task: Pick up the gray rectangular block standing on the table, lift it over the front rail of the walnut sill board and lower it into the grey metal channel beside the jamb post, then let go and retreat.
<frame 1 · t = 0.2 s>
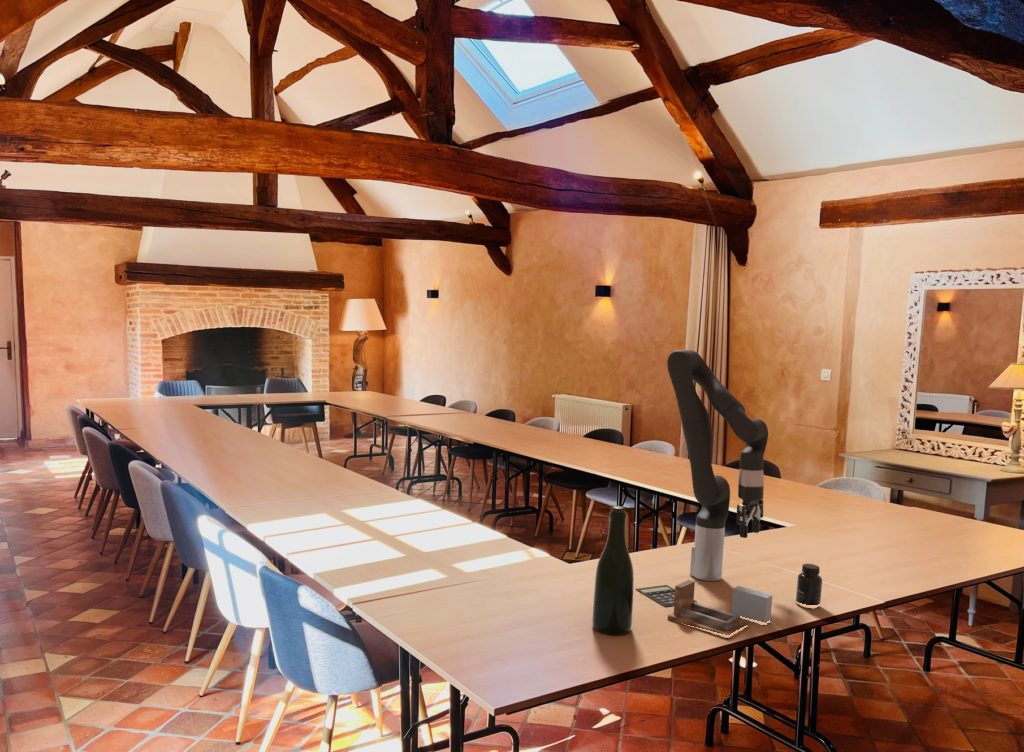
hand: (749, 534, 241), 17 cm above the table, tool pointing down, fingers open, 8 cm apart
supplement bottle: (807, 605, 230), on the table
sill: (707, 623, 213), on the table
gray rectangular block: (750, 619, 217), on the table
dark green wine bottle: (611, 629, 206), on the table
calculator: (665, 598, 233), on the table
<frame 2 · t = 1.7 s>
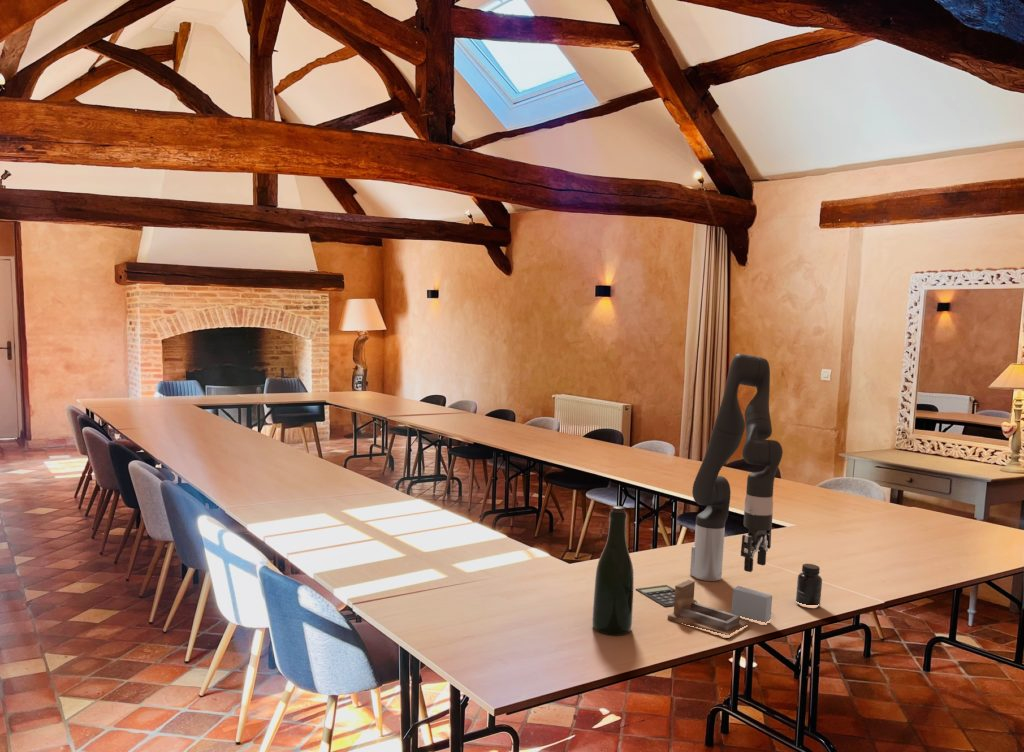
hand: (754, 567, 216), 15 cm above the table, tool pointing down, fingers open, 8 cm apart
nothing on the table moved.
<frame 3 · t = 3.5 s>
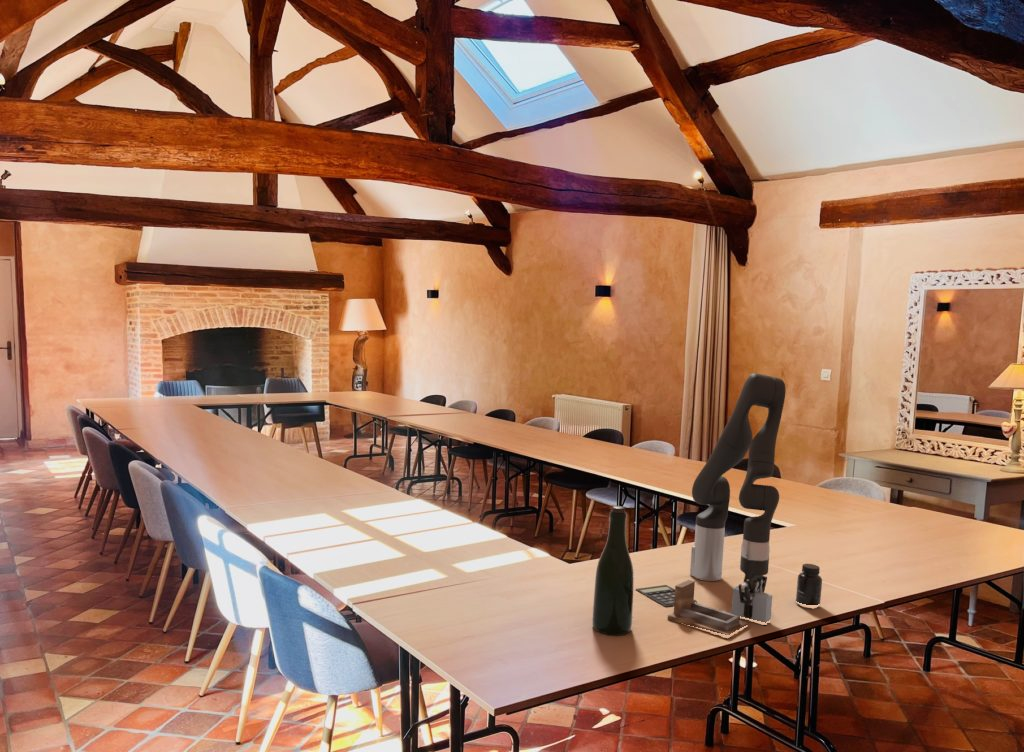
hand: (750, 615, 217), 1 cm above the table, tool pointing down, fingers closed on gray rectangular block, 3 cm apart
gray rectangular block: (750, 619, 217), on the table, touching gripper
everything else where it was.
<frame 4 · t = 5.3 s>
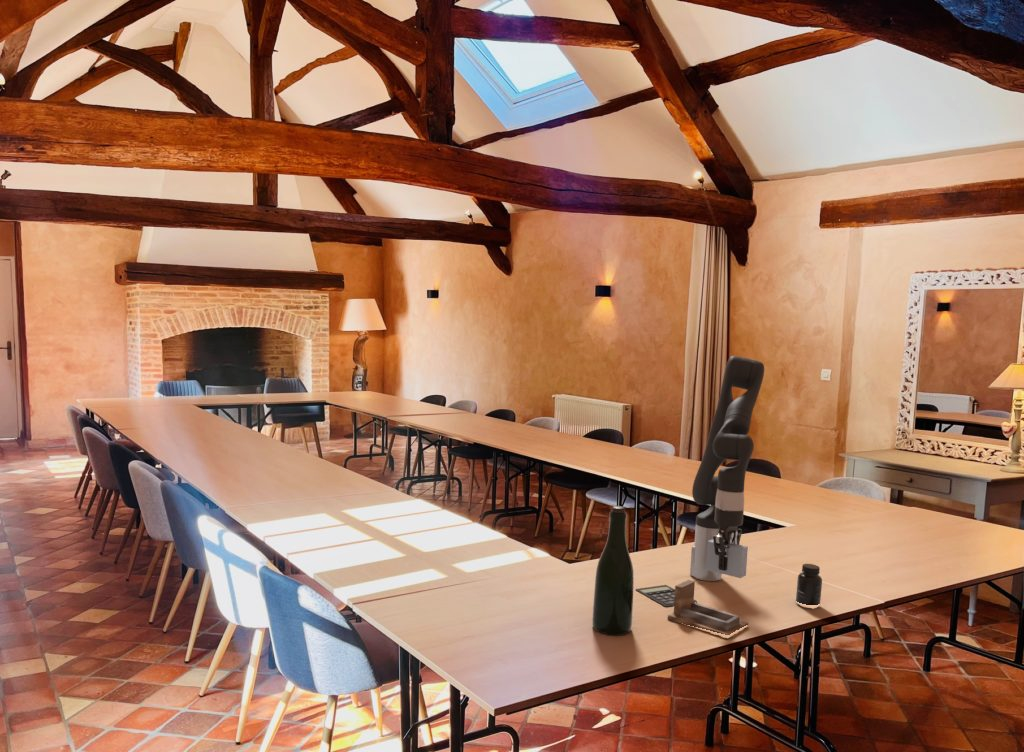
hand: (725, 567, 212), 16 cm above the table, tool pointing down, fingers closed on gray rectangular block, 3 cm apart
gray rectangular block: (725, 572, 212), point 14 cm above the table, touching gripper
everything else where it was.
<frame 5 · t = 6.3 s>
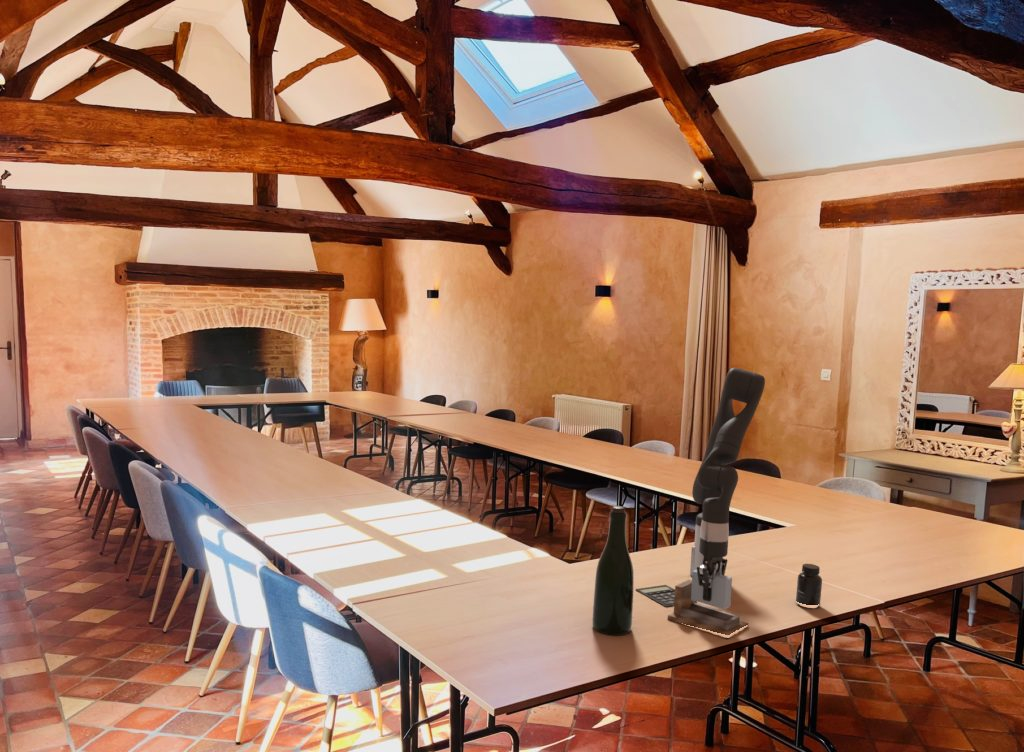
hand: (710, 598, 212), 7 cm above the table, tool pointing down, fingers closed on gray rectangular block, 3 cm apart
gray rectangular block: (710, 602, 212), point 6 cm above the table, touching gripper
everything else where it was.
when the fingers open (4 cm above the table, at t = 7.2 s): gray rectangular block drops 1 cm, resting on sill.
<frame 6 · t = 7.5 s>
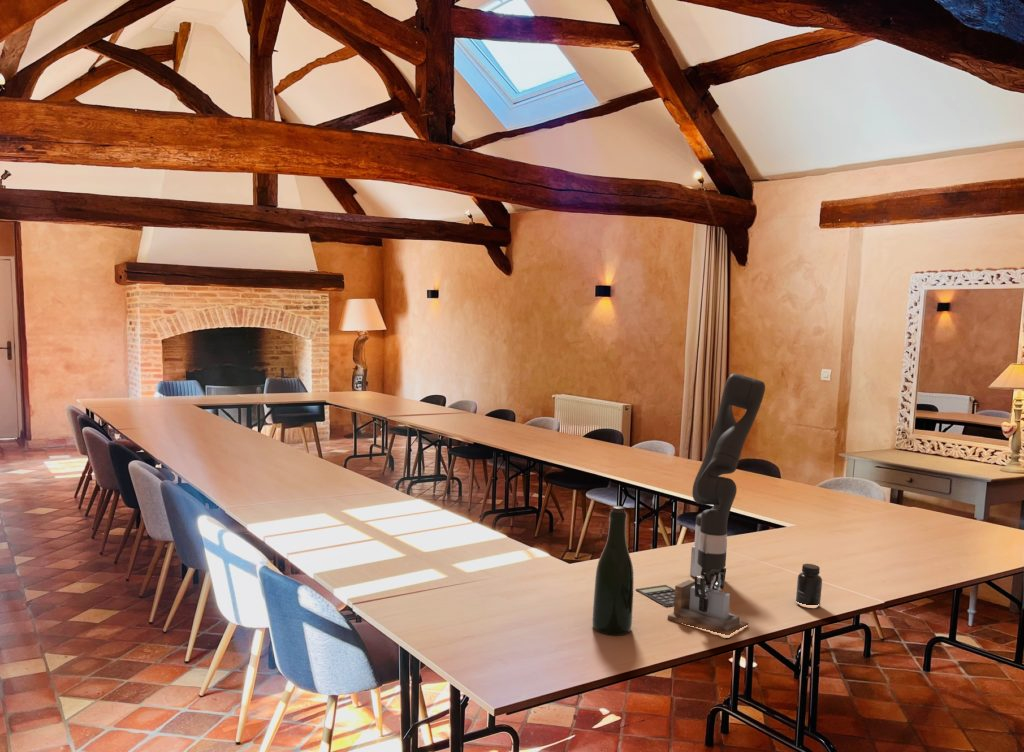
hand: (708, 608, 213), 4 cm above the table, tool pointing down, fingers open, 6 cm apart
gray rectangular block: (708, 618, 213), point 1 cm above the table, touching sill
everything else where it was.
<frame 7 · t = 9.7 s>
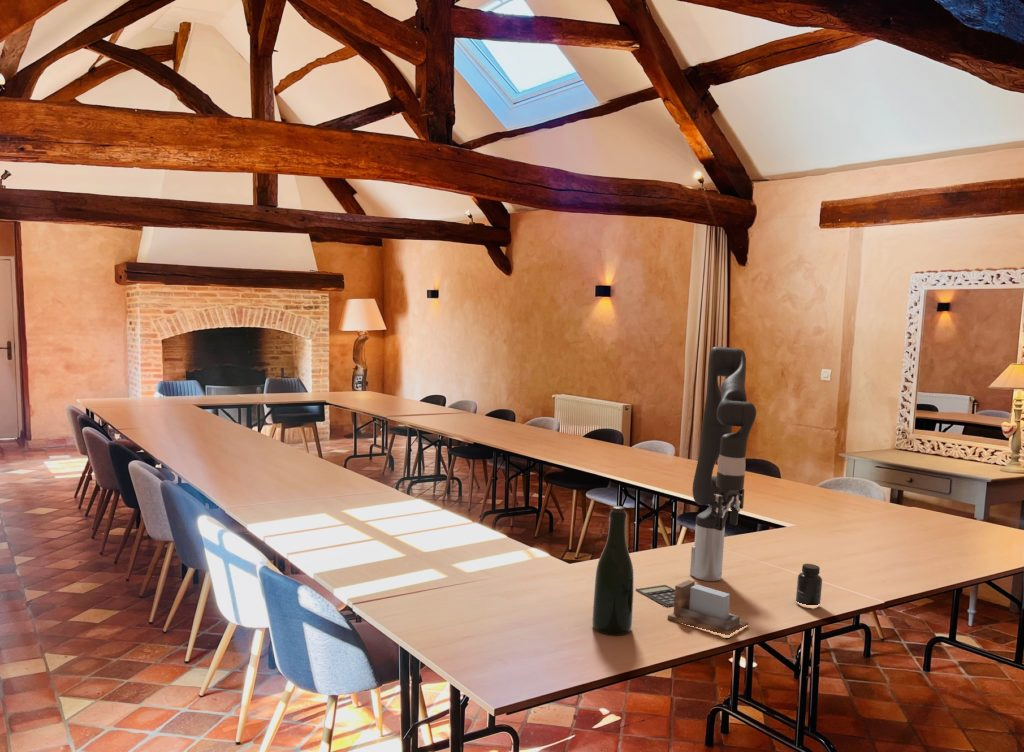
hand: (726, 527, 219), 25 cm above the table, tool pointing down, fingers open, 8 cm apart
nothing on the table moved.
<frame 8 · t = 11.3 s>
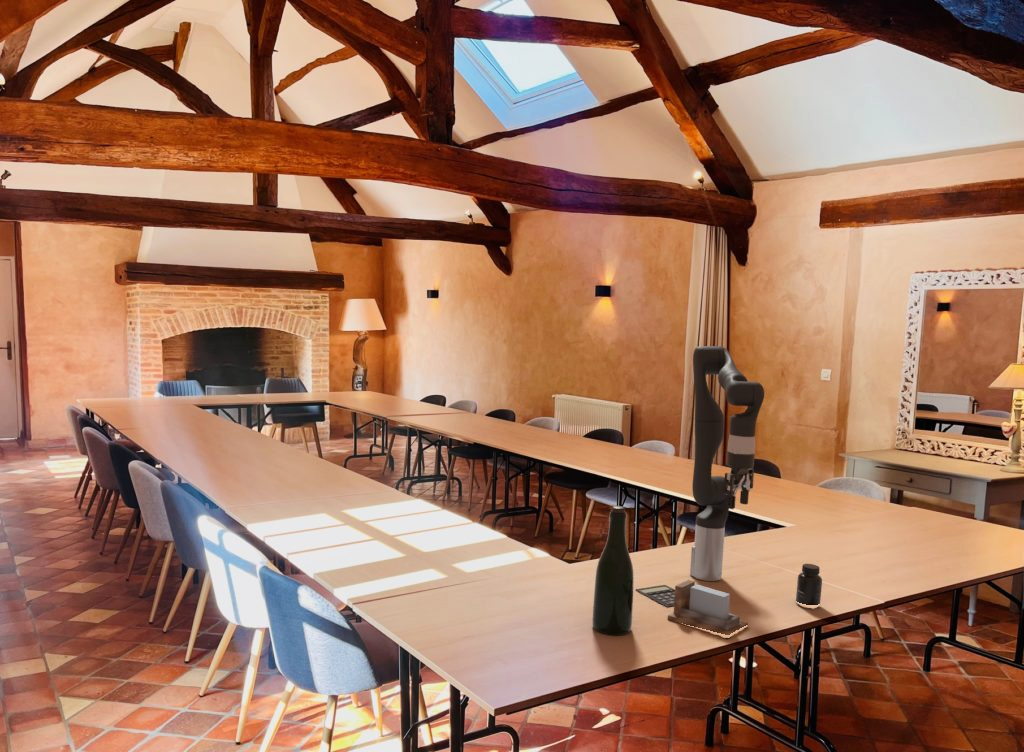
hand: (737, 506, 223), 30 cm above the table, tool pointing down, fingers open, 8 cm apart
nothing on the table moved.
at the end: gray rectangular block 0.2 cm off-centre on the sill, point 1.2 cm above the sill's base; gray rectangular block tilted 0°; the gripper is holding nothing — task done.
